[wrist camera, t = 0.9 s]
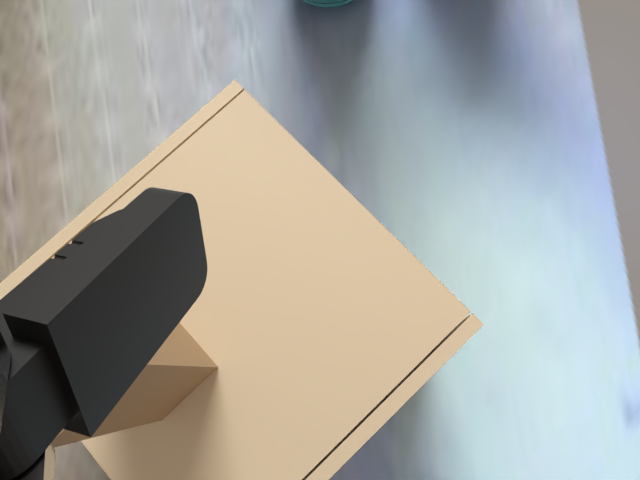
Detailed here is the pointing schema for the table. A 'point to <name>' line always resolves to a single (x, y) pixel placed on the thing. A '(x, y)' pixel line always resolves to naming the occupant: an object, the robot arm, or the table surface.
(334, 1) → the beverage bottle
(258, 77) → the table surface
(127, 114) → the table surface
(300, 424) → the lid
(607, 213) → the table surface
